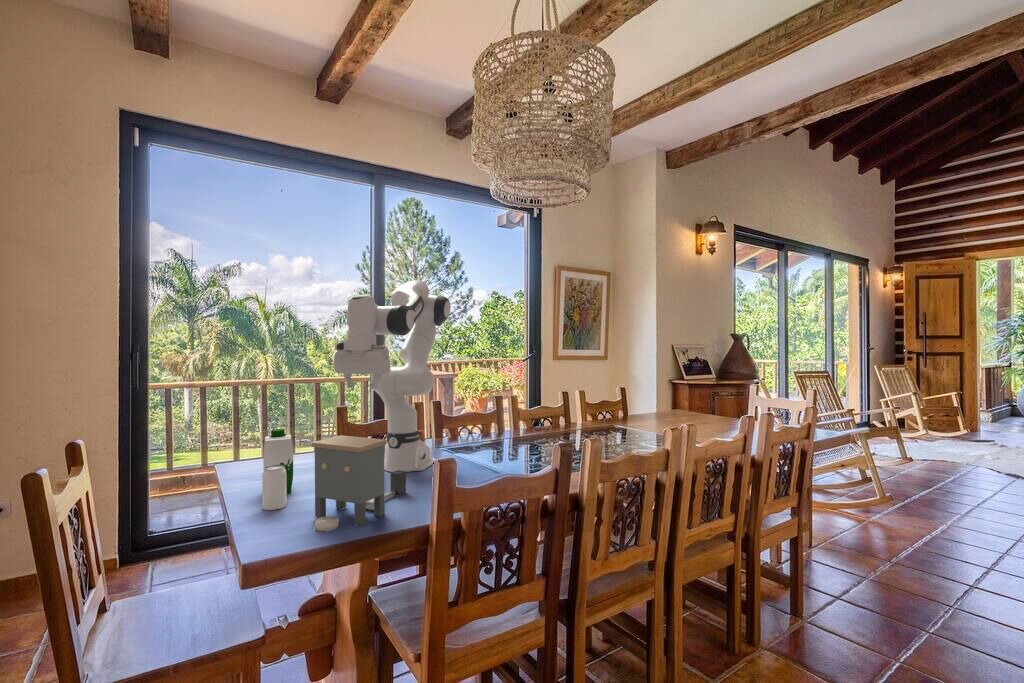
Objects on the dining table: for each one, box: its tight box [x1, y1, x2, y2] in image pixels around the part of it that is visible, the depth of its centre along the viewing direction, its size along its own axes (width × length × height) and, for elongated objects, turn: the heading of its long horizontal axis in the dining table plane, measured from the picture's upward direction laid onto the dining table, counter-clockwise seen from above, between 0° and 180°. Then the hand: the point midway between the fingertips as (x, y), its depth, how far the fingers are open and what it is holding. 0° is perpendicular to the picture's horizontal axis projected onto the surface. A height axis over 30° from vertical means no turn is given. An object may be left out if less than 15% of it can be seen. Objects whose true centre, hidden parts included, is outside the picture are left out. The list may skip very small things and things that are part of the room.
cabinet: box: [311, 434, 388, 527], centre depth 141 cm, size 11×17×21 cm, turn 66°
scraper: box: [365, 470, 407, 511], centre depth 155 cm, size 18×7×7 cm, turn 156°
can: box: [261, 465, 288, 511], centre depth 149 cm, size 6×6×12 cm
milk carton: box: [262, 428, 294, 495], centre depth 164 cm, size 9×9×20 cm
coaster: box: [314, 515, 340, 532], centre depth 133 cm, size 6×6×2 cm
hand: (362, 388), depth 161 cm, fingers open, 8 cm apart
